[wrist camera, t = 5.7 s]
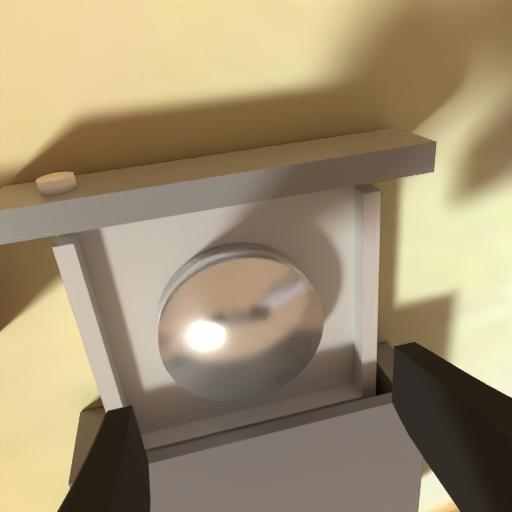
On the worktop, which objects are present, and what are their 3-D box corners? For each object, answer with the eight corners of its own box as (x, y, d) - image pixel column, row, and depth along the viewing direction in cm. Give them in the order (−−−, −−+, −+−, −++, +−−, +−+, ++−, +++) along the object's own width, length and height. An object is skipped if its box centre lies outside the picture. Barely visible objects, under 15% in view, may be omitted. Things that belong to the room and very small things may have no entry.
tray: (395, 116, 15) (437, 129, 13) (385, 374, 20) (415, 414, 18) (-1, 174, 13) (-30, 201, 11) (94, 443, 18) (88, 499, 16)
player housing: (387, 341, 20) (429, 393, 17) (381, 504, 25) (413, 566, 22) (80, 412, 18) (68, 484, 15) (138, 574, 23) (138, 652, 20)
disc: (306, 228, 16) (320, 244, 14) (313, 358, 18) (326, 381, 17) (141, 259, 15) (141, 278, 14) (172, 391, 17) (175, 417, 16)
